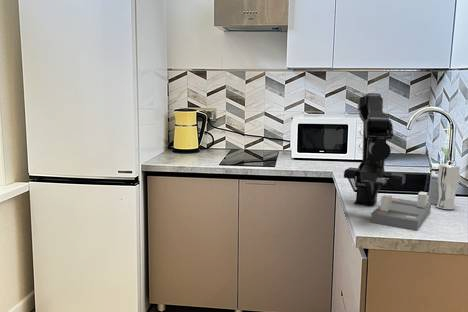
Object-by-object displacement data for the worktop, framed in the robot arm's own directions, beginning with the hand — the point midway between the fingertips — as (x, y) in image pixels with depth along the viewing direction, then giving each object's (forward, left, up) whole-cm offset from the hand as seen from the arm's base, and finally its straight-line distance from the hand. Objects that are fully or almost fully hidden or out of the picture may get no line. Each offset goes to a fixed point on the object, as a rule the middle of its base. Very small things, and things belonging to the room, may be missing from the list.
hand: (372, 201), depth 152 cm
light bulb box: (+16, +35, -5) cm, 38 cm away
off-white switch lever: (+5, 0, -2) cm, 5 cm away
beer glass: (+19, +26, -5) cm, 33 cm away
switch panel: (+9, +6, -5) cm, 12 cm away
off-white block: (+14, +12, -2) cm, 18 cm away
